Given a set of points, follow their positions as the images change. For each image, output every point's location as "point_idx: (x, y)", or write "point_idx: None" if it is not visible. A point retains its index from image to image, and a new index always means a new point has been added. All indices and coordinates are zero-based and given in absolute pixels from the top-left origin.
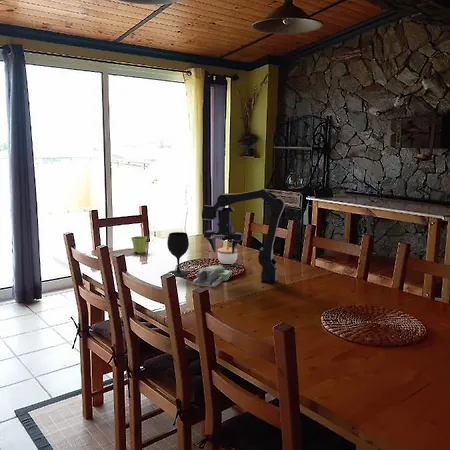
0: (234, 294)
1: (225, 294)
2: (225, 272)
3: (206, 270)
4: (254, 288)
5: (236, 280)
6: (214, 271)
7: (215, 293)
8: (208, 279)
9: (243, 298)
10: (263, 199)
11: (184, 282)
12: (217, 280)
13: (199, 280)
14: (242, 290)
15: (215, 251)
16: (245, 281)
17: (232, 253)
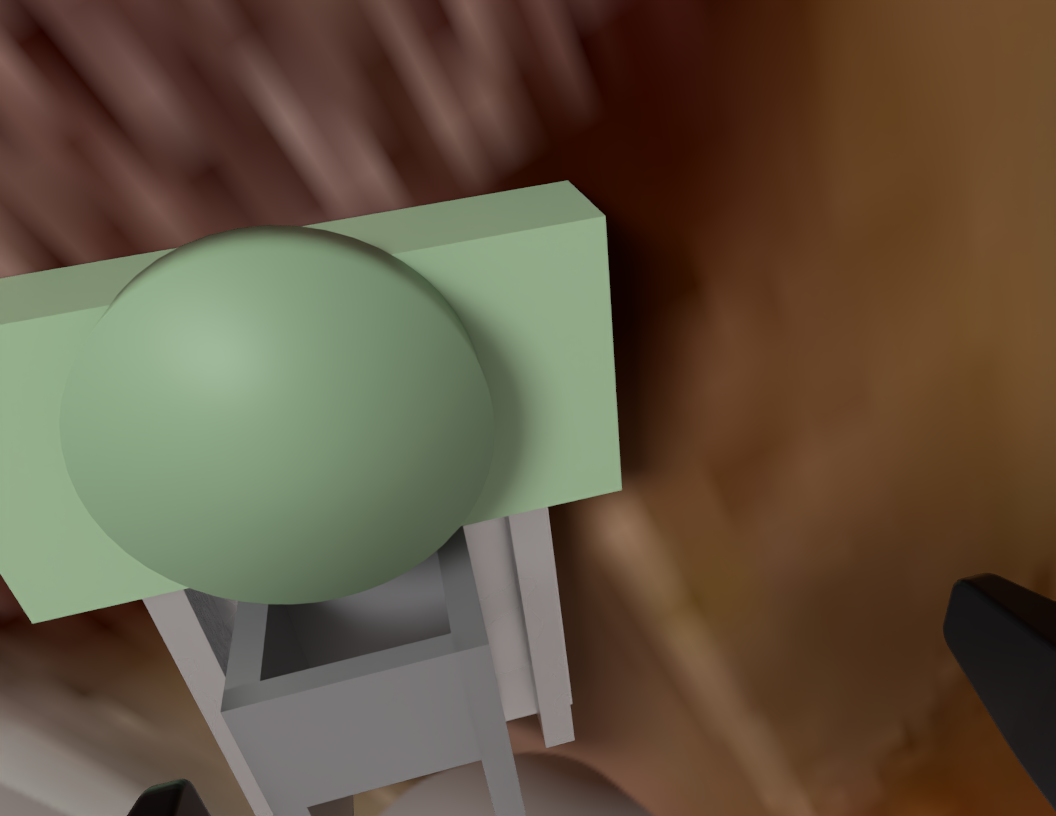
0: (843, 727)
1: (762, 769)
2: (547, 401)
3: (346, 781)
4: (1023, 489)
5: (729, 330)
6: (508, 743)
7: (663, 801)
8: (379, 642)
9: (940, 747)
10: None
11: (96, 786)
12: (560, 657)
13: (350, 799)
14: (898, 610)
15: (189, 807)
16: (876, 300)
17: (964, 661)
